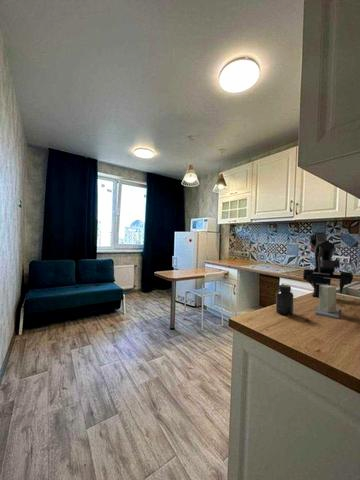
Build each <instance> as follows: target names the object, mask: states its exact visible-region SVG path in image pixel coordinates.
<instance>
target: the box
mask: <svg viewBox="0 0 360 480" xmlns="http://www.w3.org/2000/svg"><path fill="white" fill-rule="evenodd" d="M318 300H319V301H318V304H319V309H321V310H323V311H326V312H336V307H337V287H336V286H333V285H331V284H330V285H319V297H318Z"/></svg>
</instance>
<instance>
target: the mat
mask: <svg viewBox="0 0 360 480" xmlns="http://www.w3.org/2000/svg"><path fill="white" fill-rule="evenodd" d="M315 315H318V316H322V317H329V318H331V319H332V318H333V319H337V320H339V319H340V308H339V307H337V306H336V312H326V311H323V310H321V309H319V303H318V305H317V307H316V311H315Z"/></svg>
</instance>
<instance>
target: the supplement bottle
mask: <svg viewBox="0 0 360 480" xmlns="http://www.w3.org/2000/svg"><path fill="white" fill-rule="evenodd" d="M291 287H292V286H291V285H287V284H279V285H278V287H277V288H278V291H277V292H276V293H275V308H276V309H275V311H276V313H278V315H282V316H292V315H294V294H293V292H292V289H291Z"/></svg>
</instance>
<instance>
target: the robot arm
mask: <svg viewBox="0 0 360 480" xmlns="http://www.w3.org/2000/svg"><path fill="white" fill-rule="evenodd" d="M309 244H310V247H311V248H312V249H313V251H314V254H313V255H314V267H315V268H314V269H311V268H310V269H309V268H304V269H303V271H302V280H305V281H306V282H308V283H309V284H310V285H311V286H312V288H313V293H312V295H311V296H312V297H314V298H319V285H330V286H331V282H332V280H339V286H338V287H339V293H340V295H341V294H342V293H343V289H344V287H345V286H347V285H351V284H352V281H353V278H354V275H353V273H352V272H349V271H341V272H340V274H334V273H335V270H336V268H338V269H339V268H340V266H341V265H340V263H341V262H340V260H339V259H334V260H333V259H332V258H333V256H334V252H336V248H335V247H336V245H335V244H334V243H332V242H330V241H329V240H328V238H327V235H326V234H325V232H323V231H322V232H321V231H319V232H318V231H317V232H314V233H313V234H311V235H310V236H309Z"/></svg>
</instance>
